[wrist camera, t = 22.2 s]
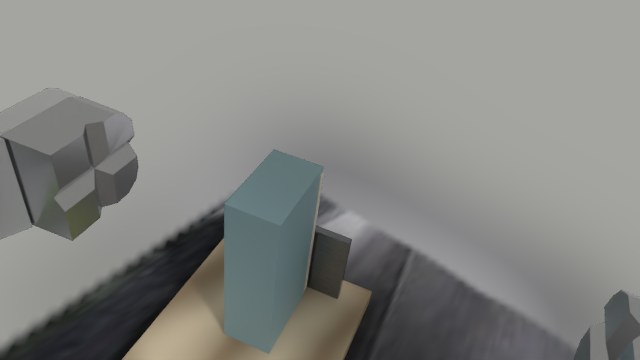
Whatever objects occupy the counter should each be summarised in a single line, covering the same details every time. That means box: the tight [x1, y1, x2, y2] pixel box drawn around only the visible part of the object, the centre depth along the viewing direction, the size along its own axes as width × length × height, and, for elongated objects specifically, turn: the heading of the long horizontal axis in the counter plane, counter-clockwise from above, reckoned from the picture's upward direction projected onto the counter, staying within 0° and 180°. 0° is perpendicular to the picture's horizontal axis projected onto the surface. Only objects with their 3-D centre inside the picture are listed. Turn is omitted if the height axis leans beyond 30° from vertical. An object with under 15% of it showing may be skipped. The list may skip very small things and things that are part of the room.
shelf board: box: [122, 238, 372, 360], centre depth 41 cm, size 15×20×2 cm
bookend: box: [307, 226, 352, 299], centre depth 45 cm, size 10×2×7 cm, turn 67°
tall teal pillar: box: [224, 150, 324, 354], centre depth 39 cm, size 4×7×14 cm, turn 157°
